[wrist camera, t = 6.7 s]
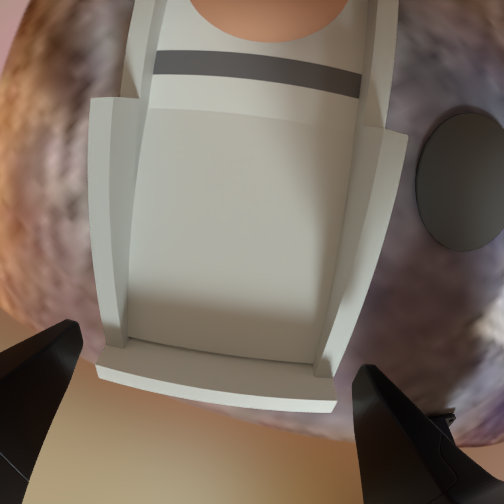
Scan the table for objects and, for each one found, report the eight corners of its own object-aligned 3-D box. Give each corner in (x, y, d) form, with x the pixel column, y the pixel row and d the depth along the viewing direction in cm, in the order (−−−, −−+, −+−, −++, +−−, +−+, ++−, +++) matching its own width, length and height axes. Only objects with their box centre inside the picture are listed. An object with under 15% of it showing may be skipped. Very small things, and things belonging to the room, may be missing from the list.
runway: (315, 326, 16) (331, 412, 10) (141, 302, 15) (99, 377, 10) (379, -29, 8) (432, -84, 3) (173, -52, 8) (129, -114, 3)
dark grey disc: (494, 256, 13) (497, 259, 13) (399, 237, 13) (401, 240, 13) (525, 140, 10) (528, 141, 10) (430, 92, 10) (433, 92, 10)
